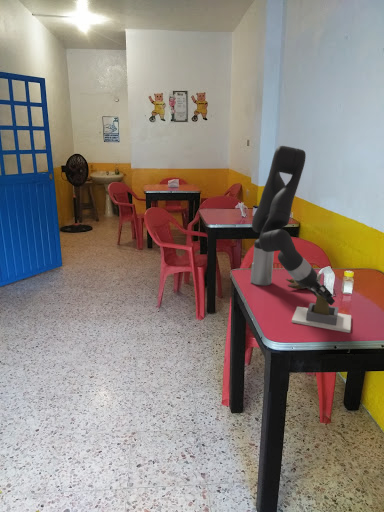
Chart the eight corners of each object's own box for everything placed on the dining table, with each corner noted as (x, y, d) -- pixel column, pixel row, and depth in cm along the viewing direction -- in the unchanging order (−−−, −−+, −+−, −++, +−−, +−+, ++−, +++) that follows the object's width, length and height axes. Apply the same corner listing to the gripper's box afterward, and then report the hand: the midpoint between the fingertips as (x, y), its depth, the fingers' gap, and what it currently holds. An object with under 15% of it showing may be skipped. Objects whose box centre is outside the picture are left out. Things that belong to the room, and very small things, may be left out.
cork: (329, 322, 143) (333, 293, 140) (312, 320, 144) (315, 292, 141) (328, 315, 148) (331, 288, 146) (311, 313, 150) (314, 286, 147)
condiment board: (291, 322, 144) (292, 312, 143) (297, 308, 157) (298, 299, 156) (349, 332, 137) (351, 322, 136) (350, 317, 150) (352, 307, 149)
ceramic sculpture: (323, 274, 173) (288, 273, 175) (322, 293, 175) (287, 292, 177) (319, 267, 183) (286, 267, 185) (318, 285, 185) (285, 284, 187)
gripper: (320, 269, 132) (345, 298, 139) (297, 258, 145) (320, 285, 152) (305, 285, 132) (330, 314, 138) (283, 273, 145) (307, 299, 151)
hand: (325, 298), depth 145 cm, fingers open, 8 cm apart
